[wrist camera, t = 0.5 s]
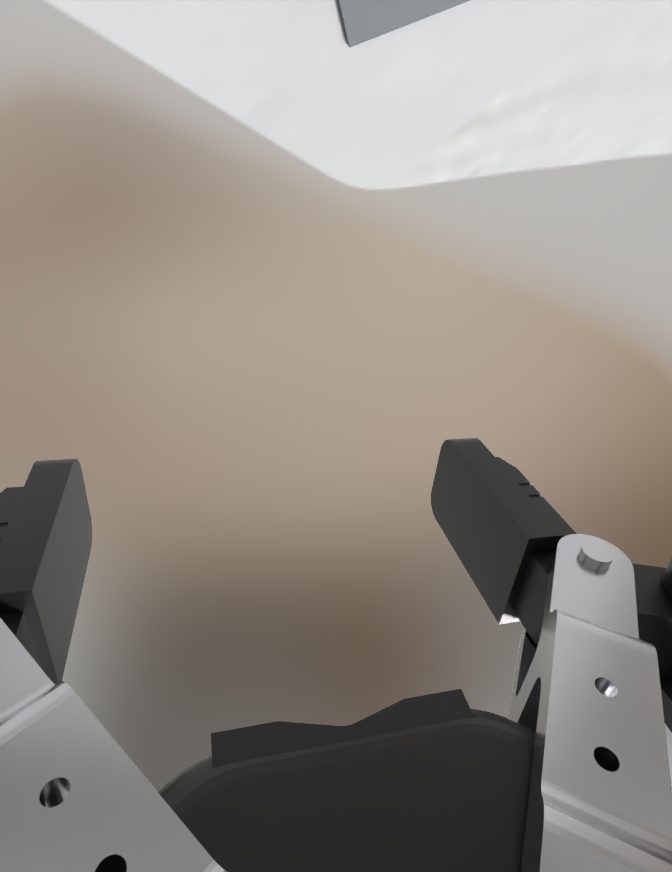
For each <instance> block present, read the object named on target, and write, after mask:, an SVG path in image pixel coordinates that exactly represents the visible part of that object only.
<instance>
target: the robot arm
mask: <svg viewBox="0 0 672 872" xmlns="http://www.w3.org/2000/svg"><path fill="white" fill-rule="evenodd" d="M431 505H432V510H433V514H434V516H435V518H436V520H437V522H438V523H439V525H440V527H441V528H442V530H443V531H444V533H445V535H446V537H447V538H448V540H449V542H450V543H451V545H452V547H453V548H454V550H455V551H456V553H457V555H458V557H459V558H460V560H461V561H462V563H463V565H464V567H465V568H466V570H467V572H468V573H469V575H470V577H471V578H472V580H473V582H474V583H475V585H476V587H477V588H478V590H479V592H480V593H481V595H482V596H483V598H484V600H485V601H486V603H487V605H488V606H489V608H490V610H491V611H492V613H493V614H494V616H495V618H496V620H497V621H498V623H499V624H504V623H511V622H518V621H521V622H522V624H523V626H524V627H525V629H524V631H523V634H522V636H521V640H520V646H519V652H518V658H517V664H516V670H515V676H514V682H513V688H512V694H511V700H510V706H509V711H508V715H507V718H505V717H502V716H500V715H497V714H494V713H490V712H486V711H481V710H477V709H470V707H469V705H468V703H467V701H466V699H465V697H464V694H463V692H462V690H461V689H457V690H452V691H446V692H441V693H436V694H430V695H424V696H418V697H413V698H407V699H404V700H401V701H399V702H397V703H395V704H393V705H391V706H389V707H387V708H385V709H383V710H381V711H379V712H377V713H375V714H373V715H371V716H369V717H367V718H365V719H363V720H361V721H358V722H356V723H354V724H352V725H349V726H330V725H318V724H304V723H291V722H279V721H278V722H272V723H267V724H262V725H255V726H250V727H245V728H238V729H233V730H227V731H222V732H217V733H211V744H212V755H211V756H209V757H206V758H205V759H202V760H200V761H198V762H196V763H195V764H193V765H192V766H190V767H188V768H187V769H185V770H184V771H182V772H180V773H179V774H178V775H177V776H175V777H174V778H173V779H172V780H171V781H169V782H168V783H167V784H165V785H164V786H163V787H162V788H161V789H160V790H159V791H158V792H157V791H156V789H155V788H154V787H153V786H152V785H151V783H150V782H149V781H148V780H147V779H146V778H145V776H144V775H143V774H142V772H141V771H140V770H139V769H138V768H137V767H136V765H135V764H134V763H133V762H132V761H131V759H130V758H129V757H128V756H127V754H126V753H125V752H124V751H123V750H122V748H121V747H120V746H119V745H118V743H117V742H116V741H115V740H114V739H113V737H112V736H111V735H110V734H109V733H108V731H107V730H106V729H105V728H104V727H103V725H102V724H101V723H100V722H99V721H98V719H97V718H96V717H95V716H94V714H93V713H92V712H91V711H90V710H89V708H88V707H87V706H86V705H85V704H84V702H83V701H82V700H81V699H80V698H79V696H78V695H77V694H76V693H75V692H74V691H73V689H72V688H71V687H70V686H69V685H68V684H66V683H65V682H63V681H62V677H63V673H64V668H65V664H66V659H67V655H68V649H69V646H70V641H71V636H72V632H73V627H74V623H75V618H76V614H77V609H78V605H79V600H80V596H81V591H82V587H83V582H84V578H85V573H86V569H87V564H88V559H89V555H90V550H91V543H92V524H91V516H90V511H89V506H88V501H87V496H86V490H85V485H84V480H83V475H82V470H81V466H80V463H79V461H78V460H77V459H65V460H48V461H36V462H35V463H34V465H33V467H32V469H31V472H30V474H29V476H28V479H27V481H26V483H25V486H24V487H13V488H6V489H5V490H4V491H2V492H1V493H0V872H672V787H671V778H670V769H669V759H668V750H667V741H666V732H665V724H666V725H667V726H668V728H669V729H670V731H671V732H672V559H671V561H670V563H669V565H668V566H667V568H661V567H654V566H647V565H639V564H632V563H631V561H630V560H629V559H628V557H627V556H626V555H625V554H624V553H623V552H622V551H621V550H620V549H618V548H617V547H615V546H614V545H612V544H610V543H608V542H606V541H605V540H602V539H600V538H597V537H594V536H590V535H585V534H576V533H575V532H574V531H573V530H572V528H571V527H570V526H569V525H568V524H567V523H566V522H565V521H564V520H563V519H562V518H561V516H560V515H559V514H558V513H557V512H556V511H555V510H554V509H553V508H552V507H551V505H549V503H548V502H547V501H546V500H545V499H544V498H543V497H540V493H539V492H538V491H537V490H536V489H535V488H534V487H533V486H530V482H529V481H528V480H527V479H526V478H525V477H524V476H523V475H522V473H521V472H520V471H519V470H518V469H517V468H515V467H513V466H512V465H510V464H509V463H507V462H505V461H504V460H502V459H501V458H498V457H494V456H493V455H492V454H491V452H490V451H489V450H488V449H487V448H486V447H485V446H484V444H483V443H482V442H481V441H480V440H479V439H476V438H471V439H452V440H446V441H445V442H444V443H443V444H442V447H441V451H440V455H439V460H438V464H437V469H436V474H435V478H434V483H433V487H432V492H431Z"/></svg>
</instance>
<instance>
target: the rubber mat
mask: <svg viewBox="0 0 672 872" xmlns="http://www.w3.org/2000/svg"><path fill="white" fill-rule="evenodd" d="M338 1H339V5H340V10H341V14H342V19H343V23H344V27H345V32H346V36H347V41H348V45H349V47H352V46H355V45H357V44H360V43H362V42H365V41H367V40H370V39H373V38H375V37H378V36H380V35H383V34H385V33H388V32H390V31H393V30H396V29H398V28H401V27H403V26H406V25H408V24H411V23H413V22H416V21H419V20H421V19H424V18H426V17H429V16H431V15H434V14H436V13H439V12H442V11H444V10H447V9H449V8H452V7H454V6H457V5H459V4H462V3H465V2H467V1H470V0H338Z"/></svg>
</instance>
